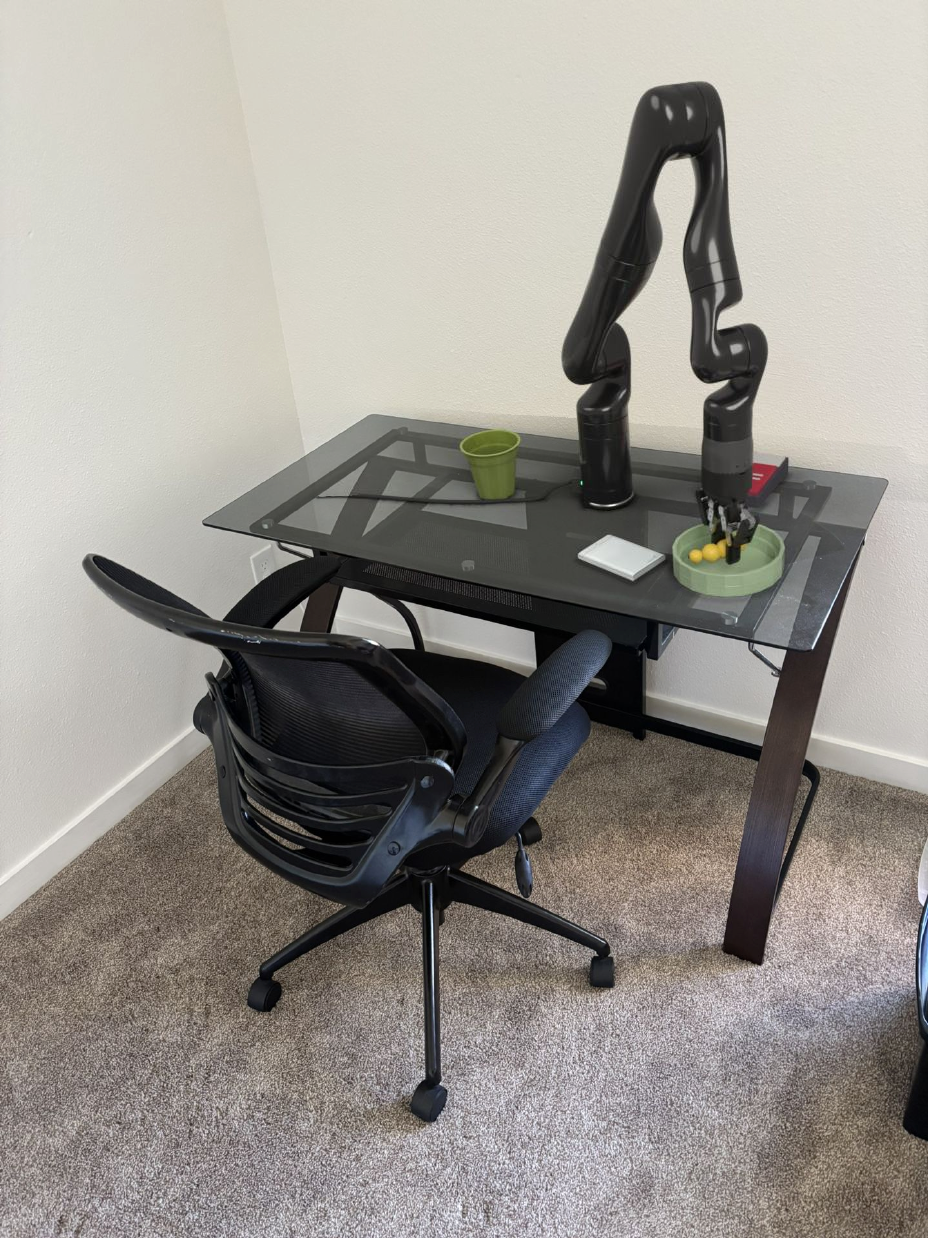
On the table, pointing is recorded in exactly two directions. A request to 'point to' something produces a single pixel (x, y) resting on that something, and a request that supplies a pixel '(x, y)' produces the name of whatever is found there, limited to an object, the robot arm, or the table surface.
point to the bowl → (724, 580)
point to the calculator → (766, 477)
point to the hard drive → (621, 557)
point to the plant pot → (492, 462)
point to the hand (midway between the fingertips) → (725, 557)
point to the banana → (711, 552)
